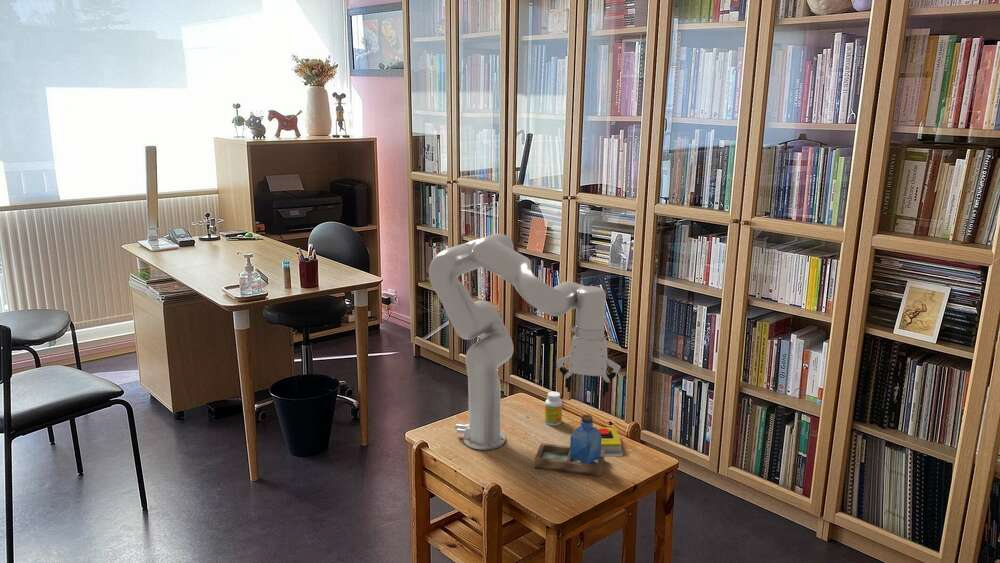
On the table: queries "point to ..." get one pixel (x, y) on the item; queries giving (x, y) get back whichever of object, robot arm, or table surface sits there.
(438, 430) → the table surface
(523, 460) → the table surface
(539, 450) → the organizer
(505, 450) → the table surface
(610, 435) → the emergency button
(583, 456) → the perfume bottle
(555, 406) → the supplement bottle
